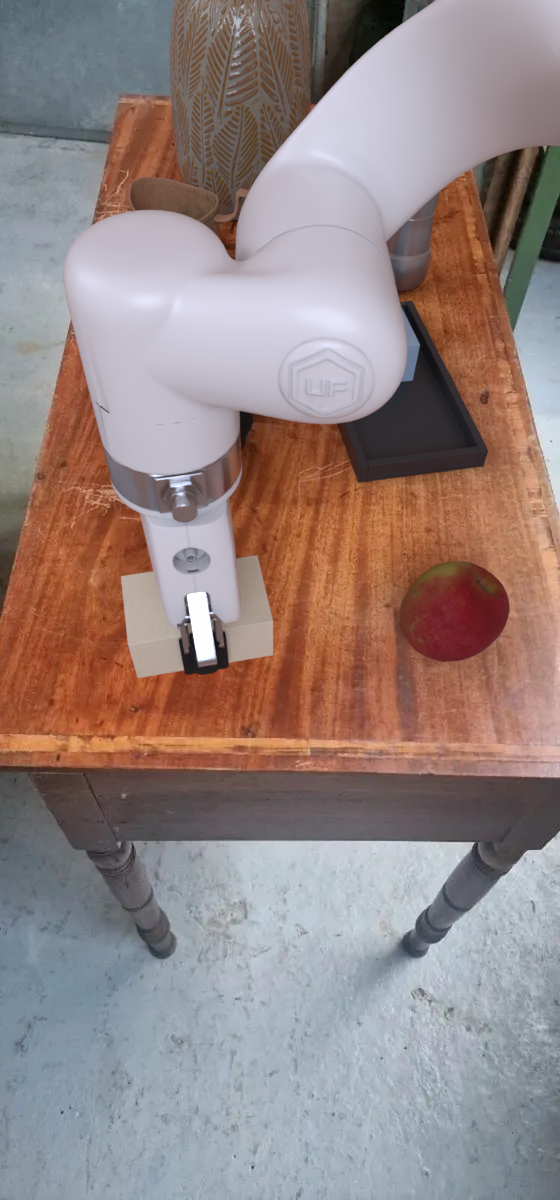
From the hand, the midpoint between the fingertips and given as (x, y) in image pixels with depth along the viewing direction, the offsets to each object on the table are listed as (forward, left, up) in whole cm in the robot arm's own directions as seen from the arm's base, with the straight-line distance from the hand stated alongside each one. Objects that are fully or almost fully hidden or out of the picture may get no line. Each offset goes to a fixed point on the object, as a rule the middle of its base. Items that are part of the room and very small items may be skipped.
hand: (199, 628), depth 58 cm
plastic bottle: (-30, -48, -5) cm, 57 cm away
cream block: (0, 0, -1) cm, 1 cm away
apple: (-20, +1, -5) cm, 20 cm away
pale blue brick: (-23, -35, -4) cm, 42 cm away
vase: (-15, -71, -5) cm, 73 cm away
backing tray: (-23, -29, -5) cm, 38 cm away
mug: (-7, -51, -5) cm, 52 cm away
